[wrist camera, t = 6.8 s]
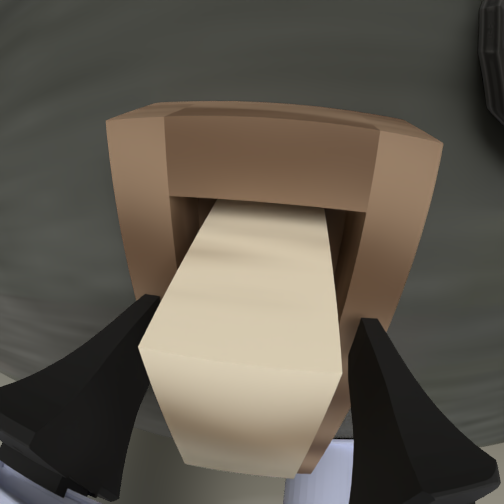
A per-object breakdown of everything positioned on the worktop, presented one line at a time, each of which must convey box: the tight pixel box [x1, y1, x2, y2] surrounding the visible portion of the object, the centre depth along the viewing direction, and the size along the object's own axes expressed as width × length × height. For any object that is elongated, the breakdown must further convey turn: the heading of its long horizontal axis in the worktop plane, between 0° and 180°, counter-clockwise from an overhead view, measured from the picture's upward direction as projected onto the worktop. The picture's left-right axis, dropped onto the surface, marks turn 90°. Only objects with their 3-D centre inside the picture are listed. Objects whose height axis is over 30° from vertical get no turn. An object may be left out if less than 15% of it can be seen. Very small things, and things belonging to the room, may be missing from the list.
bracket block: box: [138, 199, 342, 479], centre depth 11 cm, size 7×4×8 cm, turn 178°
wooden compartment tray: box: [106, 101, 443, 474], centre depth 16 cm, size 25×10×4 cm, turn 178°
